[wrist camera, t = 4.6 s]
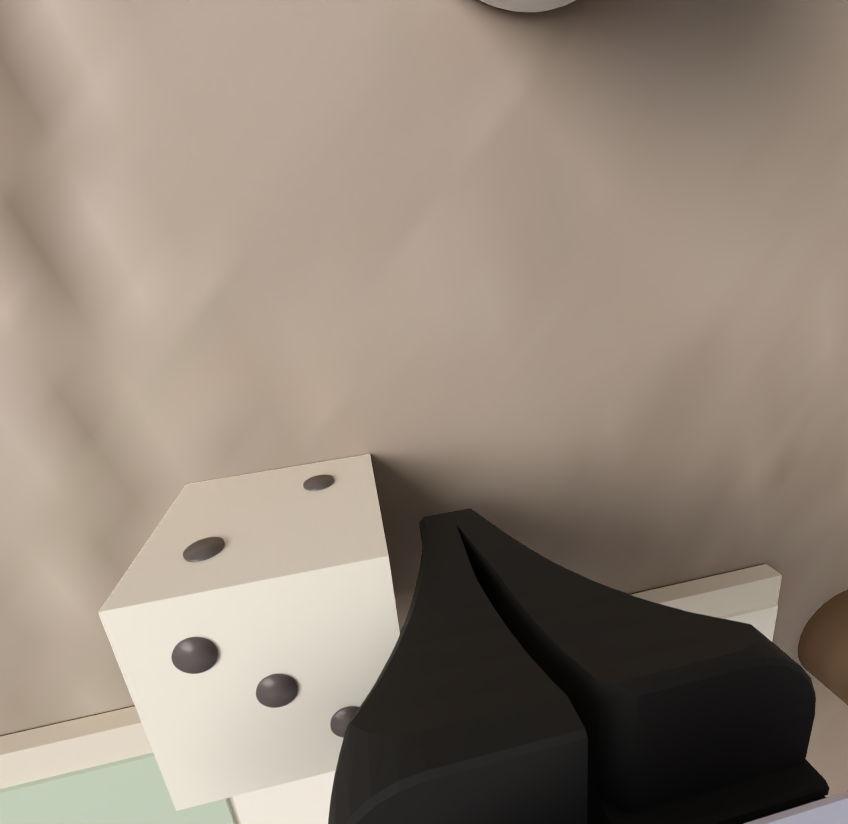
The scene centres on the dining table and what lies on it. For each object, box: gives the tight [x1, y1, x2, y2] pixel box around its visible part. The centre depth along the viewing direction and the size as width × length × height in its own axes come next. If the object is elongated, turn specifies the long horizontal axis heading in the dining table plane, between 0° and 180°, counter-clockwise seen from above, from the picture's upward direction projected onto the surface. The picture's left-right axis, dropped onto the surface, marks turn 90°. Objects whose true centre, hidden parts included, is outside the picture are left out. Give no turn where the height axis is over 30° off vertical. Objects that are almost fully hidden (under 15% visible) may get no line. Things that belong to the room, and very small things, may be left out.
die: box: [98, 454, 400, 811], centre depth 10 cm, size 5×5×5 cm
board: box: [0, 564, 782, 824], centre depth 15 cm, size 8×24×1 cm, turn 96°
